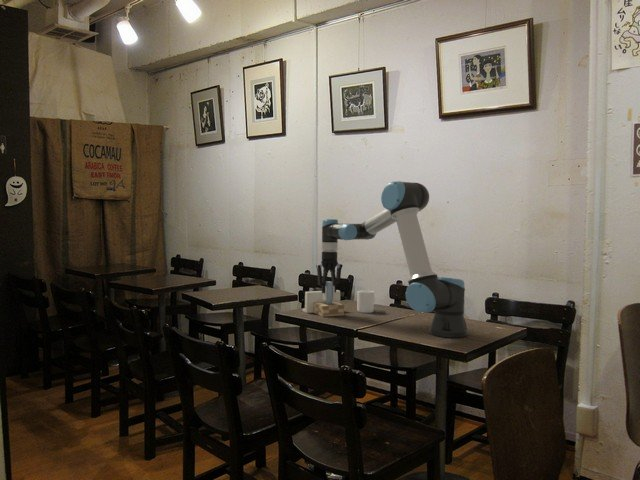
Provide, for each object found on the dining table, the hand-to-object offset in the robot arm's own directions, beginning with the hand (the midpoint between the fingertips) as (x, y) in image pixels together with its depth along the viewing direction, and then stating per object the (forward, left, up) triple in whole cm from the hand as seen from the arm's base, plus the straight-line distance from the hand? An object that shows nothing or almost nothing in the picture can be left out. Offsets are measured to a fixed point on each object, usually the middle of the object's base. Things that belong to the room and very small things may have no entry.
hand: (328, 299), depth 256 cm
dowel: (0, 0, -5) cm, 5 cm away
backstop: (+8, 0, -7) cm, 11 cm away
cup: (+1, -22, -7) cm, 23 cm away
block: (0, 0, -7) cm, 7 cm away
